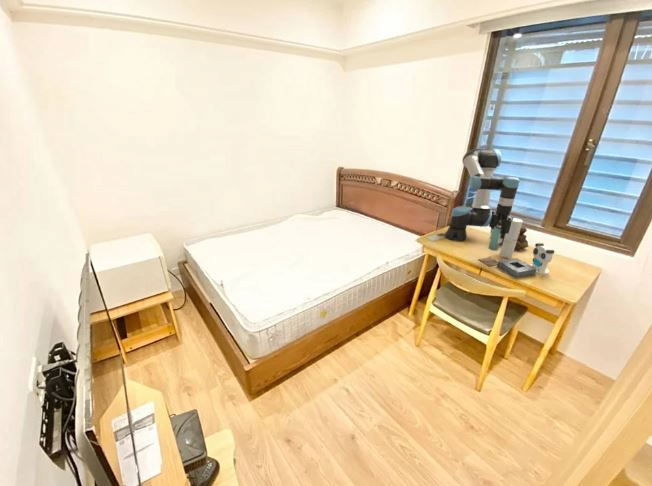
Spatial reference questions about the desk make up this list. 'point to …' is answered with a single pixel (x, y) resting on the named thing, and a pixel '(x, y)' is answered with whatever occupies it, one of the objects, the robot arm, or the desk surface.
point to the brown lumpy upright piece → (521, 239)
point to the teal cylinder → (495, 238)
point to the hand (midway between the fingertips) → (495, 240)
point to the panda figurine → (542, 258)
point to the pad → (489, 261)
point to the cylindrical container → (511, 238)
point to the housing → (516, 268)
